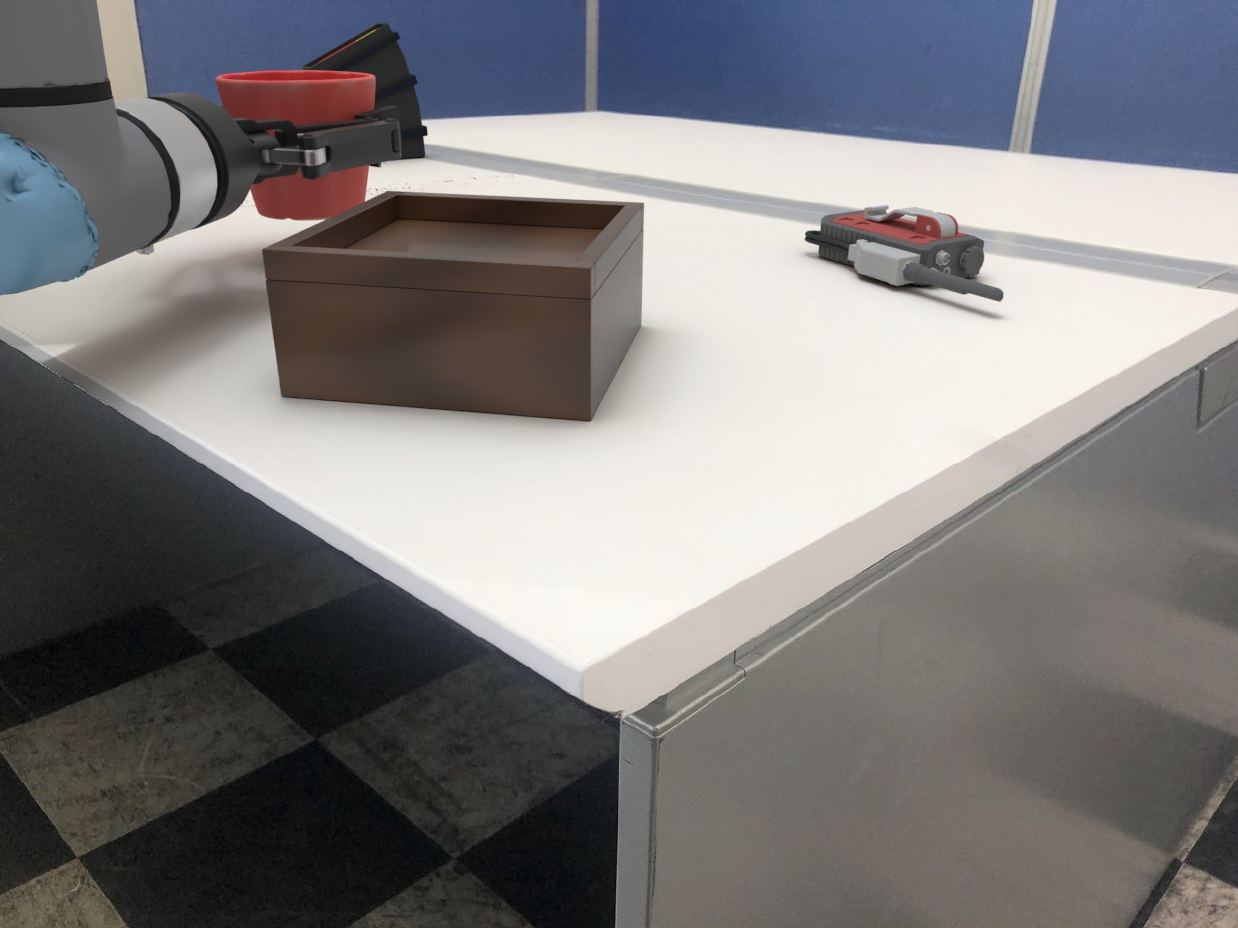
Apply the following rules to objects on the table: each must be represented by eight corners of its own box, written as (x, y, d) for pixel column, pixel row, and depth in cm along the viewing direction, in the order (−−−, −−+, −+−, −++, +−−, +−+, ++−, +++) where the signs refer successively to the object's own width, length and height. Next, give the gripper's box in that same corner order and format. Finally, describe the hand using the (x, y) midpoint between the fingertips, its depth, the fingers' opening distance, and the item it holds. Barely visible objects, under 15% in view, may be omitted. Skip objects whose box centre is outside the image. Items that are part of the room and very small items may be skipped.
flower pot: (251, 198, 81) (233, 67, 77) (391, 197, 82) (381, 69, 78) (219, 227, 72) (197, 79, 68) (378, 226, 73) (366, 81, 69)
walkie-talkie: (781, 256, 81) (986, 320, 65) (785, 199, 79) (998, 251, 64) (862, 243, 85) (1072, 301, 70) (868, 189, 83) (1086, 236, 68)
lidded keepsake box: (280, 396, 52) (260, 249, 49) (396, 309, 66) (387, 190, 63) (590, 421, 49) (591, 267, 46) (641, 324, 64) (644, 202, 61)
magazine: (451, 141, 126) (392, 22, 117) (362, 197, 122) (294, 78, 113) (438, 138, 128) (380, 20, 119) (351, 192, 125) (284, 76, 116)
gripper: (-2, 222, 62) (197, 165, 82) (356, 244, 58) (473, 179, 78) (-33, 90, 59) (182, 64, 78) (344, 106, 55) (468, 74, 75)
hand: (327, 121), depth 78 cm, fingers closed on flower pot, 10 cm apart
